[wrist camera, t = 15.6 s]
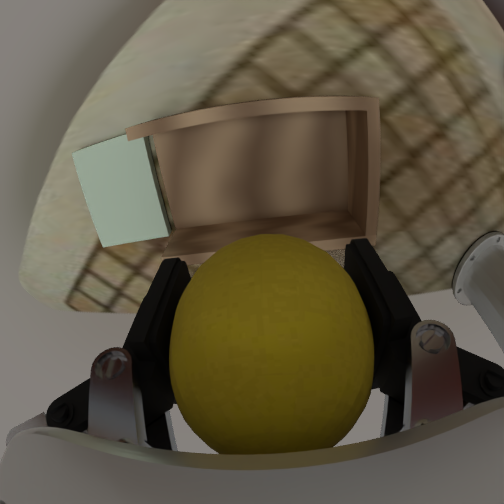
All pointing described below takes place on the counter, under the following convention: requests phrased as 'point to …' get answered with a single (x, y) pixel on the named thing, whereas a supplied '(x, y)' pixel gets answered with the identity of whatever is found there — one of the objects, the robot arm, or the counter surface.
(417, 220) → the counter surface
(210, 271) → the lemon
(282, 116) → the crate
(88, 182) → the panel
